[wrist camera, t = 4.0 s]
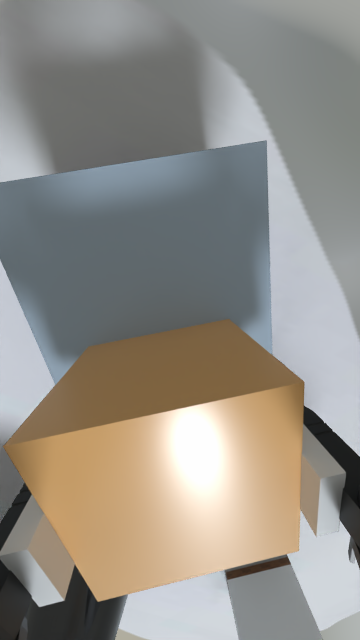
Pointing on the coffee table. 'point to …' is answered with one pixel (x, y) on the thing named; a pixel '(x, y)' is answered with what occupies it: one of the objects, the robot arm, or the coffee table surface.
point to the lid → (156, 367)
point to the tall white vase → (270, 602)
